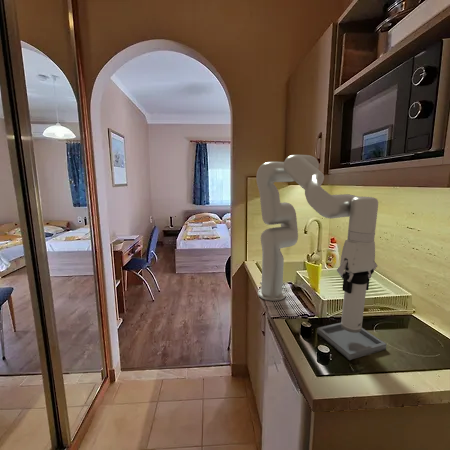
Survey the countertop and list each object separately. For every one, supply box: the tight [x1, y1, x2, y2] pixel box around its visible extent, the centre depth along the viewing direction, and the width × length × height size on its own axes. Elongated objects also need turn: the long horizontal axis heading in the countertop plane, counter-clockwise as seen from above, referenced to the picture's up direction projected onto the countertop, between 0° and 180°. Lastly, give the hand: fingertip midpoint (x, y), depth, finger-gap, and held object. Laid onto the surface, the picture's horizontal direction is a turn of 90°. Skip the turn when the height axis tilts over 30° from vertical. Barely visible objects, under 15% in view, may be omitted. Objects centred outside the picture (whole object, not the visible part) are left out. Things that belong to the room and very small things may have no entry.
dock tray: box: [316, 322, 387, 361], centre depth 92 cm, size 15×15×2 cm
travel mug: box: [340, 271, 369, 333], centre depth 89 cm, size 6×7×20 cm
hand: (355, 289), depth 89 cm, fingers closed on travel mug, 6 cm apart
